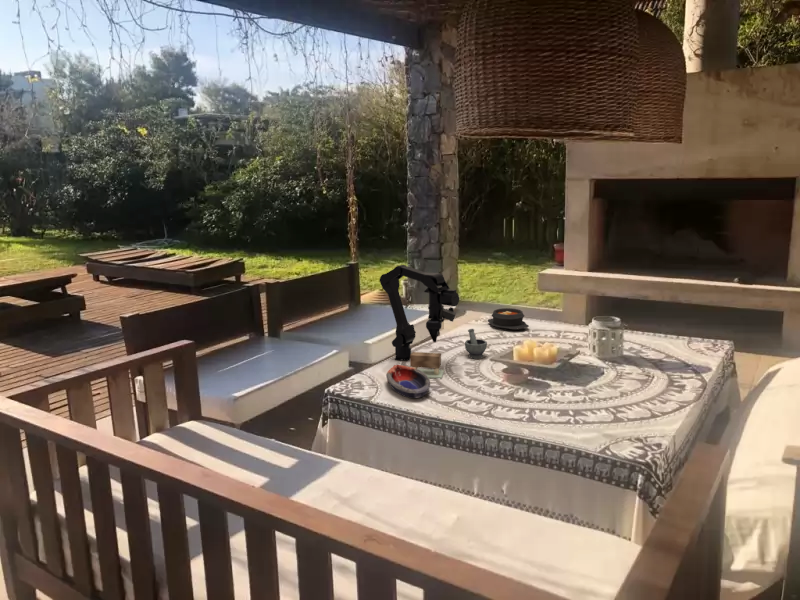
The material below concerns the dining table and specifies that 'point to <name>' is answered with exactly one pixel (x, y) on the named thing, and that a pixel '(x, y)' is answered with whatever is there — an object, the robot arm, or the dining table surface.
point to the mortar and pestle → (475, 346)
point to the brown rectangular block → (425, 360)
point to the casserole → (508, 319)
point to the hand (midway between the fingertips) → (435, 339)
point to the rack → (432, 372)
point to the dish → (408, 381)
